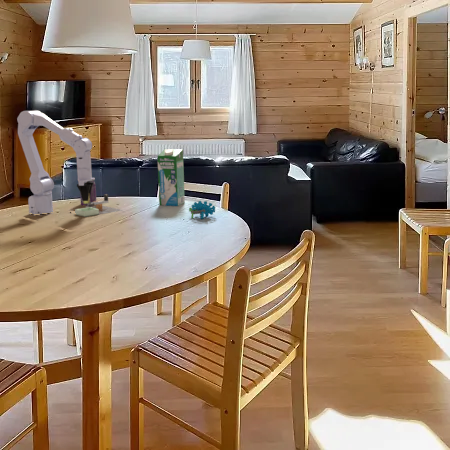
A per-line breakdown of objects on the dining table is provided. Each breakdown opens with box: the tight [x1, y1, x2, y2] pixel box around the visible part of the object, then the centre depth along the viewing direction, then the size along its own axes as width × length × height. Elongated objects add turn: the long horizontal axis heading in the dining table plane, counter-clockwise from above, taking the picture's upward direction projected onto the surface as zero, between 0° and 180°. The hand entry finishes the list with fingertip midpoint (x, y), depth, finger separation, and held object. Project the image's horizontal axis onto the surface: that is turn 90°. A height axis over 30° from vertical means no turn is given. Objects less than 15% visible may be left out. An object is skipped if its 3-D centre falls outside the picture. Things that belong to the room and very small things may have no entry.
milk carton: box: [157, 148, 186, 207], centre depth 279 cm, size 9×9×25 cm
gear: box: [188, 200, 216, 220], centre depth 250 cm, size 11×6×10 cm
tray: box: [74, 207, 99, 218], centre depth 257 cm, size 7×7×2 cm
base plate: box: [85, 200, 123, 218], centre depth 265 cm, size 19×17×4 cm
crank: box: [87, 193, 109, 206], centre depth 267 cm, size 10×3×4 cm, turn 135°
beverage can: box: [79, 180, 97, 207], centre depth 280 cm, size 7×7×12 cm
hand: (86, 200), depth 256 cm, fingers closed on brass pin, 3 cm apart
